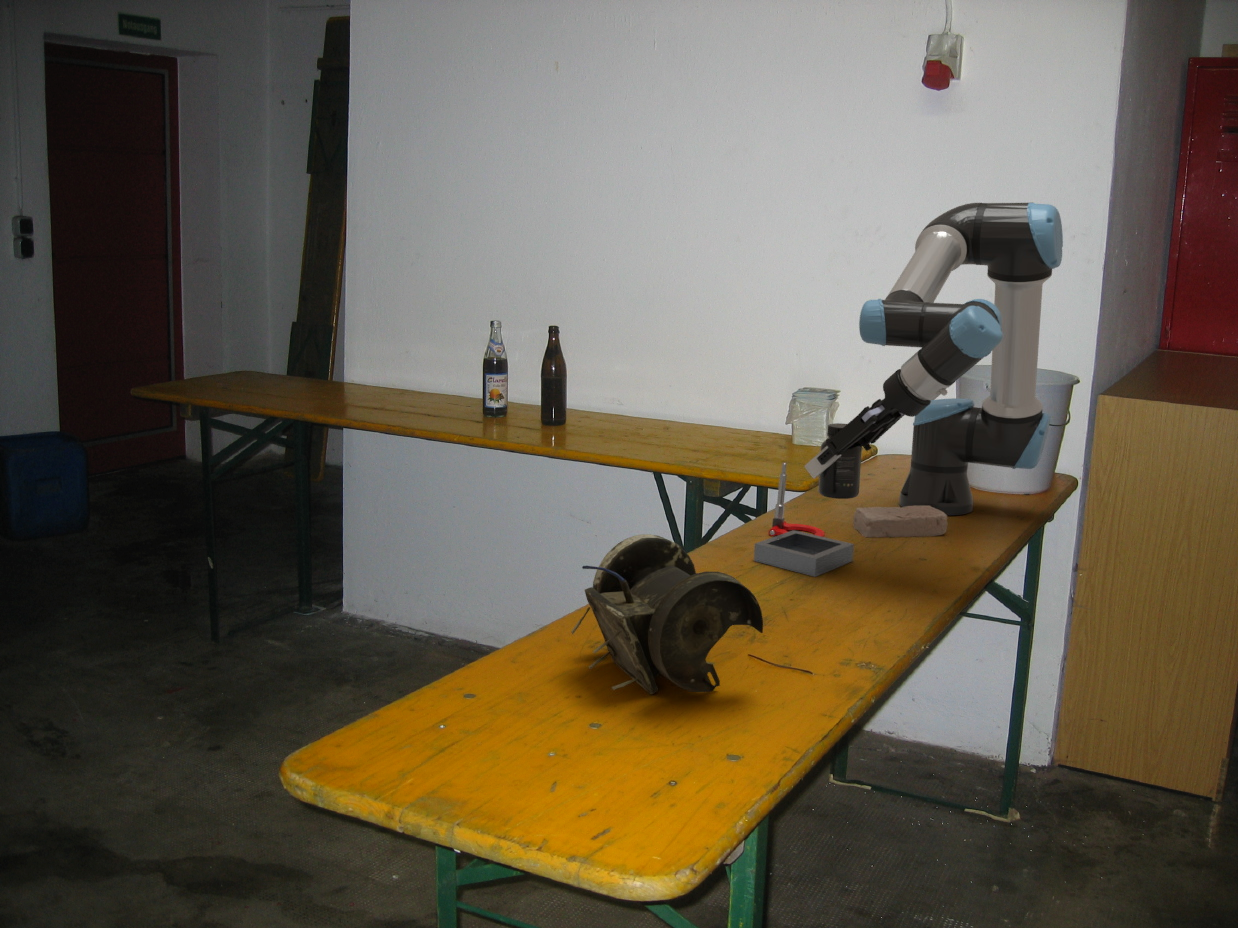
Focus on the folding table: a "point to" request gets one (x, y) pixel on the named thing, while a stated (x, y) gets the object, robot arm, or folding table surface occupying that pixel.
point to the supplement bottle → (841, 470)
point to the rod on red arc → (778, 521)
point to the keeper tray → (803, 553)
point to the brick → (900, 521)
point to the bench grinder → (664, 612)
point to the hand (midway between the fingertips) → (821, 468)
